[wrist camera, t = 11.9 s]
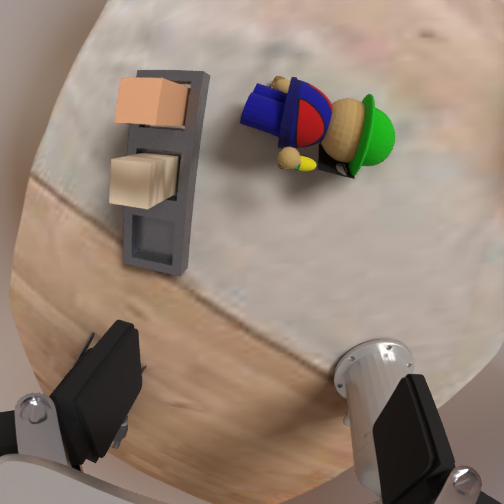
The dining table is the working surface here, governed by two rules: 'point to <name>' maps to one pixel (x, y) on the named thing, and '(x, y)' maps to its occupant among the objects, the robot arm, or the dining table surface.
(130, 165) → the beech block
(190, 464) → the dining table surface
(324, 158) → the toy
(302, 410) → the dining table surface
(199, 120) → the rail
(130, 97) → the terracotta block
